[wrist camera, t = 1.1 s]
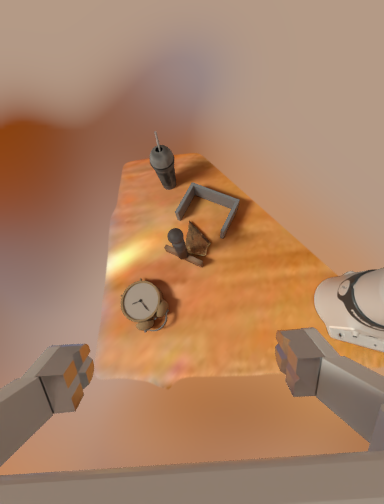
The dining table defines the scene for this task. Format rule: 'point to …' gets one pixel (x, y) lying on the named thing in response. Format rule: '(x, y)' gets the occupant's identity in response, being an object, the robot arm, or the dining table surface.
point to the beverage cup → (163, 165)
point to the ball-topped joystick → (180, 247)
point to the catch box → (210, 196)
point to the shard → (196, 241)
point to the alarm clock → (143, 304)
